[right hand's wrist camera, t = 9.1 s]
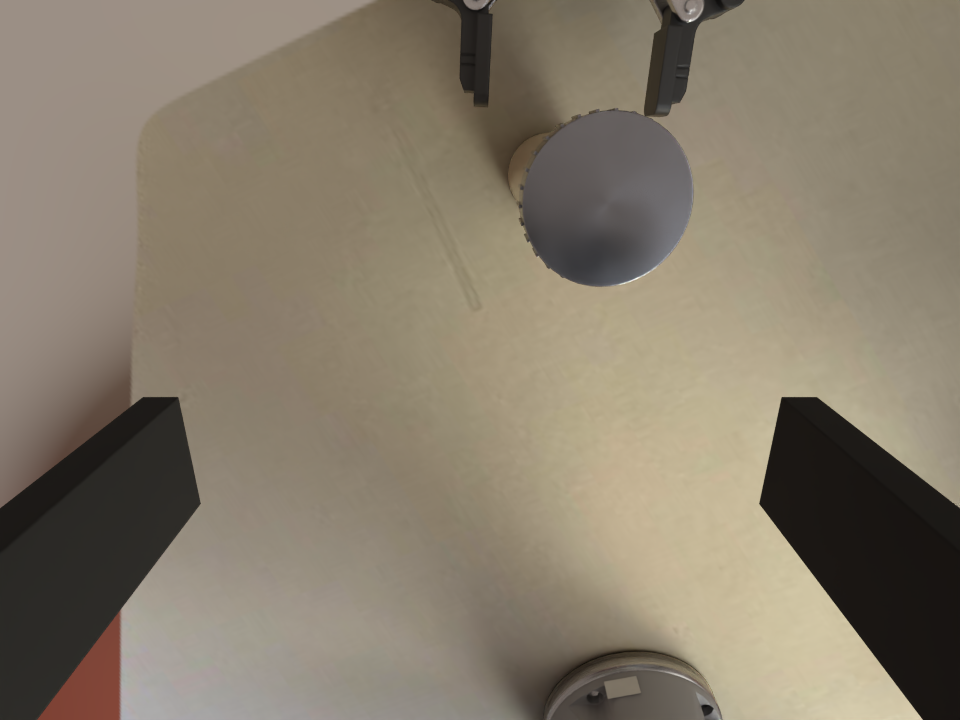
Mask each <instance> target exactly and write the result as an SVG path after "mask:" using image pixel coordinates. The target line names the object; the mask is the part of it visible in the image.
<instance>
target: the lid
mask: <svg viewBox="0 0 960 720" xmlns="http://www.w3.org/2000/svg"><path fill="white" fill-rule="evenodd" d="M542 139H543V141H542V142H541V143H540V144H539V145H538V146H537V148H536V149H535V151H534V150H532V151H531V152H530V153H531V154H532V155H531V157H530V159H529V161H528V163H527V165H526V167H524V166H523V169H522V170H524V173H523V176H522V179H521V184H518V188H519V189H520V191H519V201H517V205H518V207H519V210H520V216H521V218H519V222H520V224H521V226H523V227H524V230H525V232H526V233H525V234H524V236H525V238H526V240H527V242H530V243H531V244H532V246H533V248H532V249H533V251H534V253H535V255H536V256H537V257H538V256H539V257H540V258H541V259H542V260H543V262H544V263H545V265H546V266H547V268H548V269H550V268H551V269H552V270H553V271H555V272H556V273H557V274H559V275H560V276H561V277H562V278H566V279H568V280H570V281H573V282H576V283H578V284H583V285H588V286H597V287H606V286H615V285H620V284H624V283H627V282H630V281H633V280H635V279H638V278H640V277H642V276H644V275H645V274H647V273H649V272H650V271H652V270H653V269H654V268H656V267H657V266H658V265H660V264H661V263H662V262H663V261H664V260H665V259H666V258H667V257H668V256H669V255H670V253H671V252H672V251H673V250H674V248H675V247H676V246H677V244H678V242H679V241H680V239H681V238H682V236H683V234H684V231H685V229H686V227H687V225H688V221H689V218H690V215H691V210H692V205H693V193H694V190H693V178H692V173H691V168H690V166H689V163H688V160H687V157H686V155H685V153H684V151H683V149H682V147H681V146H680V145H679V143H678V142H677V140H676V139H675V138H674V137H673V136H672V135H671V134H670V133H669V132H668V130H666V129H665V128H664V127H663V126H661V125H660V124H659V123H657V122H655V121H653V119H651V118H648V117H645V116H643V115H640V114H638V113H636V112H635V111H632V112H628V111H619V110H618V108H614V109H610V110H607V111H600V112H599V109H597V110H593V111H590V112H589V114H587V115H584V116H581V114H579V115H576V116H573V117H572V120H570V121H568V122H566V123H564V124H563V123H561V124H558V125H556V129H555V130H553V131H552V132H551V133H550V134H549V135H548V136H543V137H542Z"/></svg>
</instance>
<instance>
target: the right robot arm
mask: <svg viewBox="0 0 960 720" xmlns="http://www.w3.org/2000/svg"><path fill="white" fill-rule="evenodd" d="M200 504H201V503H200V498H199V493H198V489H197V484H196V479H195V474H194V470H193V465H192V460H191V455H190V451H189V446H188V441H187V436H186V432H185V427H184V422H183V417H182V413H181V408H180V403H179V398H178V397H143V398H141V399H140V400H139V401H138V402H136V403H135V404H134V405H132V406H131V407H130V408H129V409H127V410H126V411H125V412H123V413H122V414H121V415H120V416H118V417H117V418H116V419H114V420H113V421H112V422H111V423H109V424H108V425H107V426H105V427H104V428H103V429H102V430H100V431H99V432H98V433H96V434H95V435H94V436H93V437H91V438H90V439H89V440H88V441H86V442H85V443H84V444H82V445H81V446H80V447H78V448H77V449H76V450H75V451H73V452H72V453H71V454H69V455H68V456H67V457H66V458H64V459H63V460H62V461H60V462H59V463H58V464H57V465H55V466H54V467H53V468H52V469H50V470H49V471H48V472H46V473H45V474H44V475H43V476H41V477H40V478H39V479H37V480H36V481H35V482H33V483H32V484H31V485H30V486H28V487H27V488H26V489H25V490H23V491H22V492H21V493H19V494H18V495H17V496H15V497H14V498H13V499H12V500H10V501H9V502H8V503H7V504H5V505H4V506H3V507H1V508H0V720H37V719H38V718H39V716H40V715H41V714H42V713H43V711H44V710H45V709H46V707H47V706H48V705H49V703H50V702H51V701H52V699H53V698H54V697H55V695H56V694H57V693H58V691H59V690H60V689H61V687H62V686H63V685H64V683H65V682H66V681H67V679H68V678H69V677H70V676H71V674H72V673H73V672H74V670H75V669H76V668H77V666H78V665H79V664H80V662H81V661H82V660H83V658H84V657H85V656H86V654H87V653H88V652H89V651H90V649H91V648H92V647H93V645H94V644H95V643H96V641H97V640H98V639H99V637H100V636H101V635H102V633H103V632H104V631H105V629H106V628H107V627H108V625H109V624H110V623H111V621H112V620H113V619H114V617H115V616H116V615H117V614H118V612H119V611H120V610H121V608H122V607H123V606H124V604H125V603H126V602H127V600H128V599H129V598H130V596H131V595H132V594H133V592H134V591H135V590H136V588H137V587H138V586H139V585H140V583H141V582H142V581H143V579H144V578H145V577H146V575H147V574H148V573H149V571H150V570H151V569H152V567H153V566H154V565H155V563H156V562H157V561H158V559H159V558H160V557H161V555H162V554H163V553H164V552H165V550H166V549H167V548H168V546H169V545H170V544H171V542H172V541H173V540H174V538H175V537H176V536H177V534H178V533H179V532H180V530H181V529H182V528H183V526H184V525H185V524H186V522H187V521H188V520H189V519H190V517H191V516H192V515H193V513H194V512H195V511H196V509H197V508H198V507H199V505H200ZM759 504H760V505H761V507H762V508H763V509H764V511H765V512H766V513H767V515H768V516H769V517H770V519H771V520H772V521H773V522H774V524H775V525H776V526H777V528H778V529H779V530H780V532H781V533H782V534H783V536H784V537H785V538H786V540H787V541H788V542H789V544H790V545H791V546H792V548H793V549H794V550H795V552H796V553H797V554H798V555H799V557H800V558H801V559H802V561H803V562H804V563H805V565H806V566H807V567H808V569H809V570H810V571H811V573H812V574H813V575H814V577H815V578H816V579H817V581H818V582H819V583H820V585H821V586H822V587H823V588H824V590H825V591H826V592H827V594H828V595H829V596H830V598H831V599H832V600H833V602H834V603H835V604H836V606H837V607H838V608H839V610H840V611H841V612H842V614H843V615H844V616H845V618H846V619H847V620H848V621H849V623H850V624H851V625H852V627H853V628H854V629H855V631H856V632H857V633H858V635H859V636H860V637H861V639H862V640H863V641H864V643H865V644H866V645H867V647H868V648H869V649H870V651H871V652H872V653H873V654H874V656H875V657H876V658H877V660H878V661H879V662H880V664H881V665H882V666H883V668H884V669H885V670H886V672H887V673H888V674H889V676H890V677H891V678H892V680H893V681H894V682H895V683H896V685H897V686H898V687H899V689H900V690H901V691H902V693H903V694H904V695H905V697H906V698H907V699H908V701H909V702H910V703H911V705H912V706H913V707H914V709H915V710H916V711H917V713H918V714H919V715H920V716H921V718H922V719H923V720H960V508H959V507H957V506H956V505H955V504H954V503H952V502H951V501H950V500H948V499H947V498H946V497H945V496H943V495H942V494H941V493H939V492H938V491H937V490H936V489H934V488H933V487H932V486H930V485H929V484H928V483H927V482H925V481H924V480H923V479H921V478H920V477H919V476H918V475H916V474H915V473H914V472H912V471H911V470H910V469H909V468H907V467H906V466H905V465H903V464H902V463H901V462H900V461H898V460H897V459H896V458H894V457H893V456H892V455H891V454H889V453H888V452H887V451H885V450H884V449H883V448H882V447H880V446H879V445H878V444H876V443H875V442H874V441H873V440H871V439H870V438H869V437H867V436H866V435H865V434H864V433H862V432H861V431H860V430H858V429H857V428H856V427H855V426H853V425H852V424H851V423H849V422H848V421H847V420H846V419H844V418H843V417H842V416H840V415H839V414H838V413H837V412H835V411H834V410H833V409H831V408H830V407H829V406H828V405H826V404H825V403H824V402H822V401H821V400H820V399H819V398H817V397H782V398H781V403H780V408H779V413H778V417H777V422H776V427H775V432H774V436H773V441H772V446H771V451H770V455H769V460H768V465H767V470H766V474H765V479H764V484H763V489H762V493H761V498H760V503H759ZM544 720H722V715H721V712H720V709H719V707H718V704H717V702H716V700H715V697H714V695H713V693H712V690H711V688H710V686H709V684H708V683H707V681H706V680H705V679H704V678H703V676H702V675H701V674H700V673H699V672H697V671H696V670H695V669H694V668H692V667H691V666H689V665H688V664H686V663H684V662H682V661H680V660H678V659H676V658H673V657H670V656H666V655H662V654H658V653H651V652H623V653H616V654H611V655H607V656H603V657H600V658H597V659H595V660H592V661H590V662H587V663H585V664H583V665H581V666H580V667H578V668H576V669H575V670H573V671H572V672H570V673H569V674H568V675H567V676H565V677H564V678H563V679H562V680H561V681H560V682H559V683H558V684H557V686H556V687H555V688H554V690H553V691H552V693H551V694H550V696H549V698H548V700H547V703H546V706H545V710H544Z"/></svg>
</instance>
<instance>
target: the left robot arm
mask: <svg viewBox="0 0 960 720" xmlns="http://www.w3.org/2000/svg"><path fill="white" fill-rule="evenodd" d="M432 1H434V2H436V3H442V4H444V5H446V6H448V7H450V8H452V9H454V10H455V11H456V12H457V13H458V14H459V15H460V17H461V20H462V22H461V54H460V81H461V84H462V87H463V90H464V93H474V106H477V107H488V97H489V77H490V57H491V36H492V16H493V14H489V11H490V9H491V8H492V6H493V5H494V4H495V2H496V1H497V0H432ZM743 1H744V0H650V2H651V4H652V6H653V8H654V10H655V12H656V14H657V16H658V18H659V20H660V22H661V24H662V25H661V30H659V31H658V32H656V33H654V40H653V47H652V55H651V62H650V69H649V77H648V84H647V91H646V98H645V106H644V115H645V116H650V117H663V116H667V115H668V114H669V112H670V109H671V105H672V104H675V103H680V101H681V99H682V98H683V96H684V94H685V92H686V88H687V81H688V75H689V67H690V62H691V56H692V50H693V43H694V37H695V32H696V29H697V27H698V26H699V24H700V23H701V22H702V21H705V20H708V19H715V18H717V17H719V16H721V15H722V14H724V13H725V12H727V11H729V10H731V9H734V8H736V7H737V6H739V5H741V4H742V3H743Z"/></svg>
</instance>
